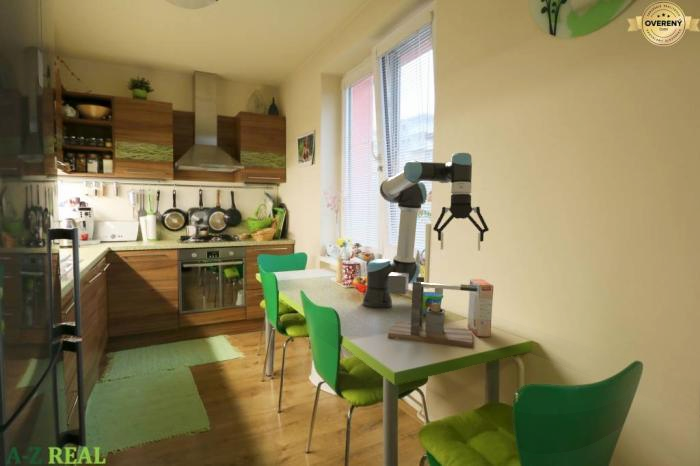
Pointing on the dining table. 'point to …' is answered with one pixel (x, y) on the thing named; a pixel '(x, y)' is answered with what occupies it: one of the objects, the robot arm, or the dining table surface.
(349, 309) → the dining table surface
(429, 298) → the snack cup
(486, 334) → the cracker box
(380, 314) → the dining table surface
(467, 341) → the press base
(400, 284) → the lever
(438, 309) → the tan ball
